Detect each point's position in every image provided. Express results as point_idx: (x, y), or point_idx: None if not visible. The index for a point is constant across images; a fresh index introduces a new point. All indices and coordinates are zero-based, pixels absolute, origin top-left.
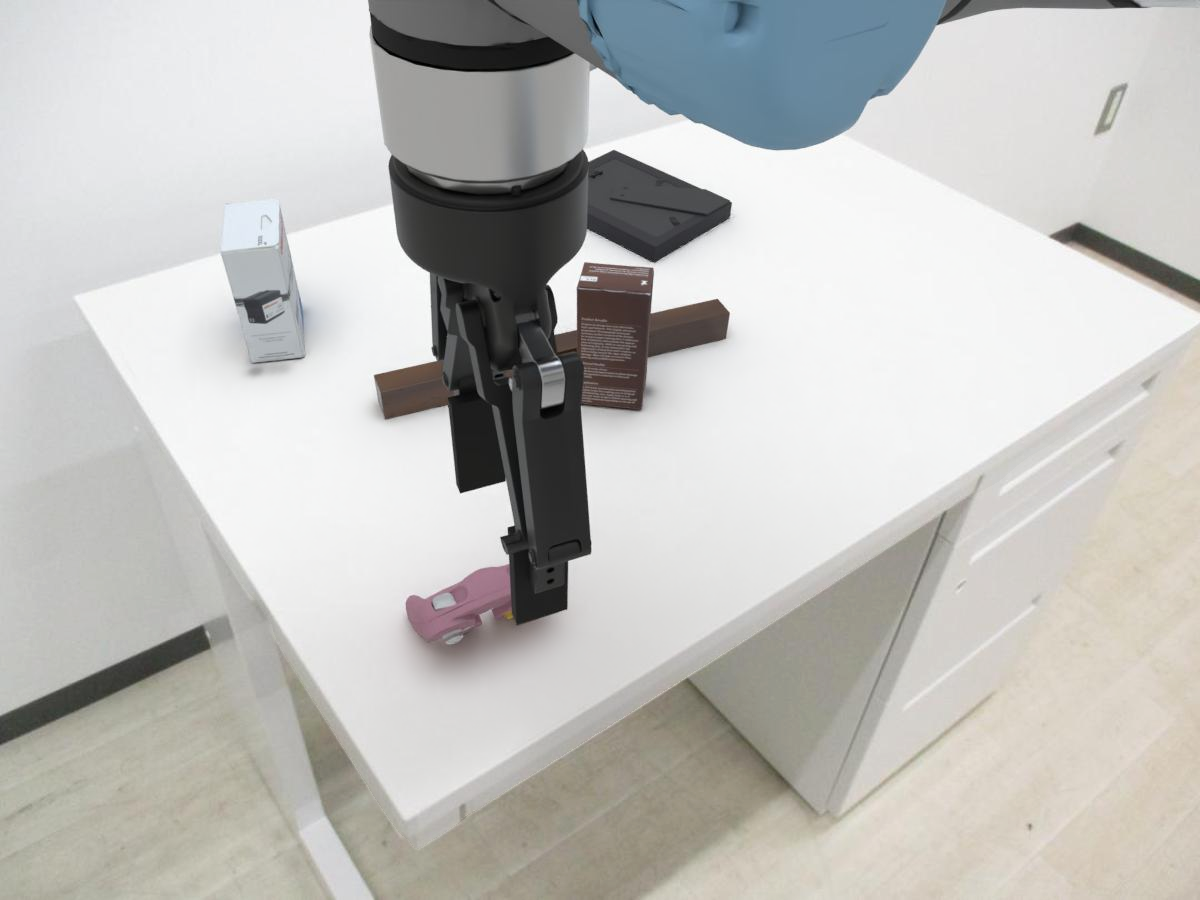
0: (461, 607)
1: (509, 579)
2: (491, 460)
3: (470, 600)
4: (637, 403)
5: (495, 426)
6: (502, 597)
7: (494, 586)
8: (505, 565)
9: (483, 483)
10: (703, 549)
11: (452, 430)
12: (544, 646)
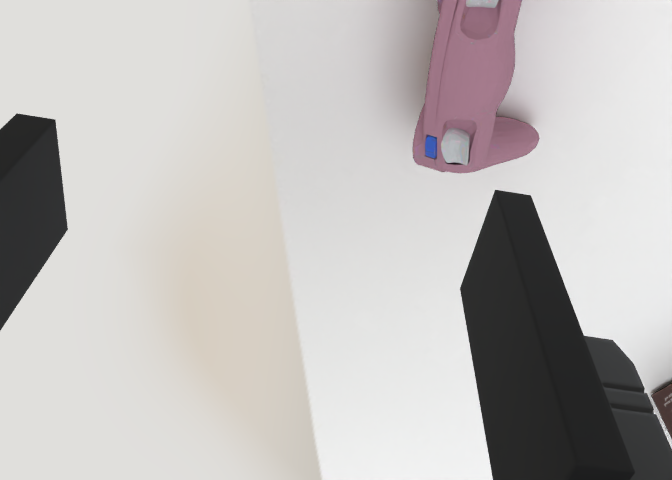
0: (453, 10)
1: (448, 115)
2: (482, 321)
3: (452, 33)
4: (660, 400)
5: (495, 434)
6: (427, 85)
7: (451, 86)
8: (486, 123)
9: (477, 251)
10: (398, 328)
11: (564, 352)
12: (382, 86)
